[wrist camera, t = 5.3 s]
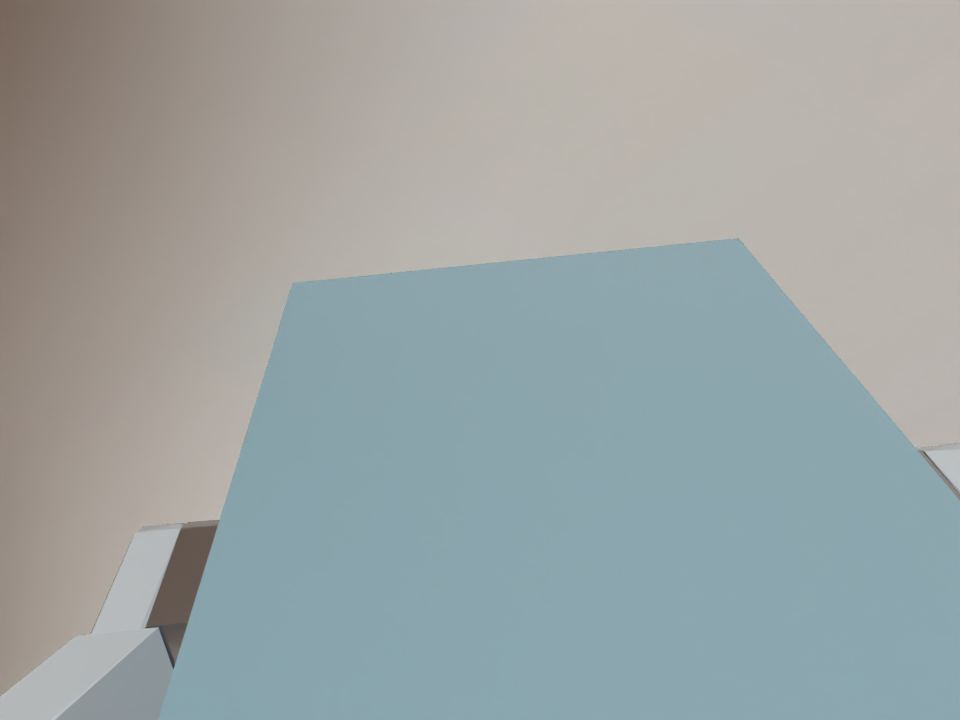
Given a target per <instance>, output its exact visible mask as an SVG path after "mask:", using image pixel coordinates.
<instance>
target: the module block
mask: <svg viewBox="0 0 960 720" xmlns="http://www.w3.org/2000/svg"><path fill="white" fill-rule="evenodd" d="M158 720H960V500H959V499H958V498H957V497H956V495H955V494H954V493H953V492H952V491H951V489H950V488H949V487H948V486H947V485H946V483H945V482H944V481H943V480H942V479H941V478H940V476H939V475H938V474H937V473H936V472H935V470H934V469H933V468H932V467H931V466H930V465H929V463H928V462H927V461H926V460H925V459H924V457H923V456H922V455H921V454H920V453H919V452H918V450H917V449H916V448H915V447H914V446H913V444H912V443H911V442H910V441H909V440H908V438H907V437H906V436H905V435H904V434H903V433H902V431H901V430H900V429H899V428H898V427H897V425H896V424H895V423H894V422H893V421H892V420H891V418H890V417H889V416H888V415H887V414H886V412H885V411H884V410H883V409H882V408H881V407H880V405H879V404H878V403H877V402H876V401H875V399H874V398H873V397H872V396H871V395H870V393H869V392H868V391H867V390H866V389H865V388H864V386H863V385H862V384H861V383H860V382H859V380H858V379H857V378H856V377H855V376H854V375H853V373H852V372H851V371H850V370H849V369H848V367H847V366H846V365H845V364H844V363H843V362H842V360H841V359H840V358H839V357H838V356H837V354H836V353H835V352H834V351H833V350H832V348H831V347H830V346H829V345H828V344H827V343H826V341H825V340H824V339H823V338H822V337H821V335H820V334H819V333H818V332H817V331H816V330H815V328H814V327H813V326H812V325H811V324H810V322H809V321H808V320H807V319H806V318H805V317H804V315H803V314H802V313H801V312H800V311H799V309H798V308H797V307H796V306H795V305H794V303H793V302H792V301H791V300H790V299H789V298H788V296H787V295H786V294H785V293H784V292H783V290H782V289H781V288H780V287H779V286H778V285H777V283H776V282H775V281H774V280H773V279H772V277H771V276H770V275H769V274H768V273H767V272H766V270H765V269H764V268H763V267H762V266H761V264H760V263H759V262H758V261H757V260H756V258H755V257H754V256H753V255H752V254H751V253H750V251H749V250H748V249H747V248H746V247H745V245H744V244H743V243H742V242H741V241H740V240H739V238H736V239H726V240H716V241H706V242H696V243H686V244H677V245H667V246H657V247H647V248H637V249H627V250H617V251H607V252H597V253H587V254H577V255H567V256H557V257H547V258H537V259H527V260H517V261H507V262H497V263H487V264H477V265H467V266H457V267H448V268H438V269H428V270H418V271H408V272H398V273H388V274H378V275H368V276H358V277H348V278H338V279H328V280H318V281H308V282H298V283H293V284H292V287H291V290H290V293H289V296H288V300H287V303H286V306H285V309H284V313H283V316H282V319H281V322H280V326H279V329H278V332H277V335H276V339H275V342H274V345H273V348H272V352H271V355H270V358H269V361H268V365H267V368H266V371H265V374H264V378H263V381H262V384H261V387H260V391H259V394H258V397H257V400H256V404H255V407H254V410H253V413H252V417H251V420H250V423H249V426H248V430H247V433H246V436H245V439H244V443H243V446H242V449H241V452H240V456H239V459H238V462H237V465H236V469H235V472H234V475H233V478H232V482H231V485H230V488H229V491H228V494H227V498H226V501H225V504H224V507H223V511H222V514H221V517H220V520H219V524H218V527H217V530H216V533H215V537H214V540H213V543H212V546H211V550H210V553H209V556H208V559H207V563H206V566H205V569H204V572H203V576H202V579H201V582H200V585H199V589H198V592H197V595H196V598H195V602H194V605H193V608H192V611H191V615H190V618H189V621H188V624H187V628H186V631H185V634H184V637H183V641H182V644H181V647H180V650H179V654H178V657H177V660H176V663H175V667H174V670H173V673H172V676H171V679H170V683H169V686H168V689H167V692H166V696H165V699H164V702H163V705H162V709H161V712H160V715H159V718H158Z"/></svg>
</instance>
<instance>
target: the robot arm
mask: <svg viewBox="0 0 960 720" xmlns="http://www.w3.org/2000/svg"><path fill="white" fill-rule="evenodd" d="M916 449H917V450H918V452H919V453H920V454H921V455H922V456H923V457H924V459H925V460H926V461H927V462H928V463H929V465H930V466H931V467H932V468H933V469H934V470H935V472H936V473H937V474H938V475H939V476H940V478H941V479H942V480H943V481H944V482H945V483H946V485H947V486H948V487H949V488H950V489H951V491H952V492H953V493H954V494H955V495H956V497H957V498H958V499H959V500H960V443H954V444H946V445H939V446H931V447H923V448H916ZM218 524H219V520H209V521H197V522H188V523H187V524H185V523H177V524H166V525H156V526H145V527H142V528H141V529H140V530H138V531H137V532H136V533H135V534H134V535H133V537H132V540H131V542H130V544H129V546H128V549H127V551H126V553H125V556H124V558H123V560H122V562H121V565H120V567H119V569H118V572H117V574H116V576H115V579H114V581H113V583H112V585H111V588H110V590H109V592H108V595H107V597H106V599H105V602H104V604H103V606H102V608H101V611H100V613H99V615H98V618H97V620H96V622H95V624H94V627H93V629H92V631H91V634H88V635H79V636H76V637H74V638H73V639H72V640H70V641H69V642H68V643H67V644H65V645H64V646H63V647H62V648H60V649H59V650H58V651H57V652H55V653H54V654H53V655H52V656H50V657H49V658H48V659H47V660H45V661H44V662H43V663H42V664H40V665H39V666H38V667H37V668H35V669H34V670H33V671H32V672H30V673H29V674H28V675H27V676H25V677H24V678H23V679H21V680H20V681H19V682H18V683H16V684H15V685H14V686H13V687H11V688H10V689H9V690H8V691H6V692H5V693H4V694H3V695H1V696H0V720H158V718H159V715H160V712H161V709H162V705H163V702H164V699H165V696H166V692H167V689H168V686H169V683H170V679H171V676H172V673H173V670H174V667H175V663H176V660H177V657H178V654H179V650H180V647H181V644H182V641H183V637H184V634H185V631H186V628H187V624H188V621H189V618H190V615H191V611H192V608H193V605H194V602H195V598H196V595H197V592H198V589H199V585H200V582H201V579H202V576H203V572H204V569H205V566H206V563H207V559H208V556H209V553H210V550H211V546H212V543H213V540H214V537H215V533H216V530H217V527H218Z"/></svg>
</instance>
